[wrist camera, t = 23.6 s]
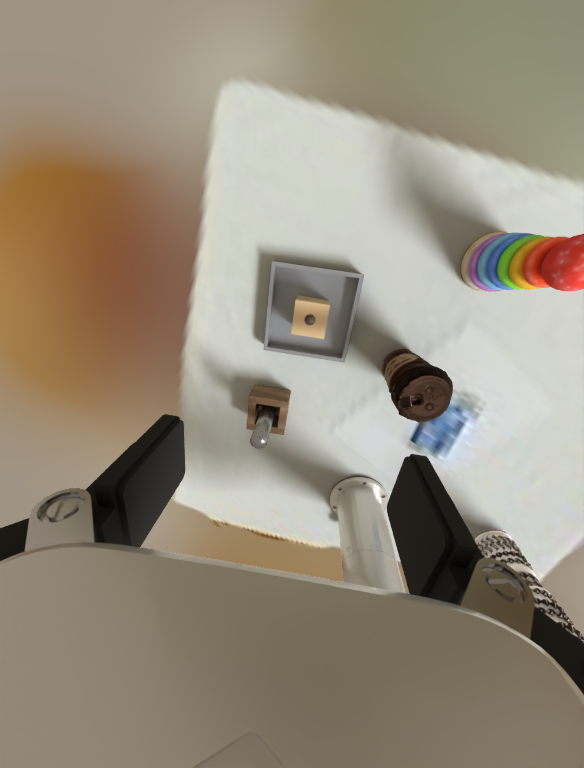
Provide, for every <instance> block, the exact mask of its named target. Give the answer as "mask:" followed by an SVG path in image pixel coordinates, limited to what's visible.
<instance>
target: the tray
mask: <svg viewBox="0 0 584 768" xmlns="http://www.w3.org/2000/svg"><path fill="white" fill-rule="evenodd" d="M363 278H364V274H359V273H352V272H345V271H339V270H332V269H325V268H318V267H311V266H304V265H297V264H290V263H283V262H277V261H272V264H271V275H270V285H269V296H268V307H267V318H266V329H265V340H264V350H268V351H274V352H281V353H287V354H294V355H300V356H307V357H313V358H320V359H326V360H333V361H339V362H345V359H346V354H347V350H348V345H349V341H350V336H351V332H352V327H353V323H354V318H355V314H356V310H357V305H358V301H359V296H360V292H361V287H362V283H363ZM298 295H299V296H306V297H312V298H319V299H326V300H329V303H330V309H329V314H328V319H327V325H326V330H325V335H324V339H320V338H314V337H307V336H301V335H294V334H291V330H292V323H293V316H294V308H295V301H296V298H297V297H298Z"/></svg>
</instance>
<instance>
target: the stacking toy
mask: <svg viewBox="0 0 584 768" xmlns="http://www.w3.org/2000/svg"><path fill="white" fill-rule="evenodd" d="M461 273H462V277H463V279H464V281H465V283H466V284H467V285H468V286H469V287H471V288H472V289H474V290H477V291H500V290H505V289H506V290H512V289H538V288H547V287H552V288H554V289H557V290H561V291H576V290H581V289H584V234H581V235H577V236H573V237H571V238H568V237H555V238H554V237H544V236H541V235H534V234H527V233H524V234H523V233H506V232H494V233H490V234H487V235H485V236H483V237H481V238H479V239H478V240H477V241H475V242H474V243H473V244H472V245H471V246H470V247H469V249H468V250H467V252H466V253H465V255H464V258H463V261H462V265H461Z"/></svg>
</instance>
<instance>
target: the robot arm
mask: <svg viewBox="0 0 584 768" xmlns="http://www.w3.org/2000/svg"><path fill="white" fill-rule="evenodd" d="M184 474H185V449H184V424H183V421H182V420H180V418H179V417H178V416H173V415H166V414H165V415H163V416H162V417H161V418H160V419H159V420H158V421H157V422H156V423H155V424H154V425H152V427H150V428H149V429H148V430H147V431H146V433H144V434H143V435H142V437H140V438H139V439H138V440H137V442H135V443H133V444H132V445H131V446H130V447H129V448H128V449H127V450H126V451H125V452H124V453H123V454H122V455H121V456H120V457H119V458H118V459H117V460H116V461H114V463H112V464H111V465H110V466H109V467H108V469H106V470H105V471H104V472H103V473H102V474H101V475H100V476H99V477H98V478H97V479H96V480H95V481H94V482H93V483H92V484H91V485H90V486H89V487H88V488H87V489H86V490H84V489H80V488H70V489H65V490H61V491H58V492H56V493H53V494H51V495H49V496H48V497H46V498H44V499H43V500H42V501H40V502H39V503H38V504H37V505H36V506H35V507H34V508H33V510H32V512H31V514H30V517H29V518H28V519H25V520H23V521H20V522H17V523H14V524H11V525H9V526H5V527H3V528H0V768H584V643H583V642H582V641H581V640H579V639H578V638H577V637H575V636H574V635H573V634H571V633H570V632H569V631H567V630H566V629H565V628H563V627H562V626H561V625H559V624H558V623H557V622H555V621H554V620H553V619H552V618H550V617H549V616H548V615H546V614H545V613H544V612H542V611H541V610H540V609H538V608H537V607H536V606H535V600H534V595H533V593H532V590H531V588H530V587H529V585H528V584H527V583H526V581H525V580H524V579H523V578H522V577H521V576H520V575H519V574H518V573H517V572H516V571H515V570H513V569H512V568H511V567H510V566H508V565H506V564H505V563H503V562H501V561H499V560H496V559H493V558H486V557H485V558H484V556H483V555H482V553H481V551H480V549H479V548H478V546H477V544H476V542H475V540H474V539H473V537H472V535H471V533H470V532H469V530H468V528H467V526H466V524H465V523H464V521H463V519H462V517H461V516H460V514H459V512H458V510H457V508H456V507H455V505H454V503H453V501H452V500H451V498H450V496H449V495H448V493H447V491H446V490H445V488H444V486H443V484H442V482H441V481H440V479H439V477H438V475H437V474H436V472H435V470H434V468H433V466H432V465H431V463H430V461H429V459H428V458H427V457H426V456H421V455H415V454H411V455H410V456H409V457H405V459H404V461H403V464H402V467H401V469H400V472H399V475H398V477H397V480H396V483H395V485H394V488H393V490H392V493H391V496H390V498H389V501H388V497H387V494H386V491H385V489H384V488H383V487H382V485H380V484H379V483H378V482H376V481H374V480H372V479H369V478H365V477H352V478H348V479H345V480H343V481H341V482H339V483H338V484H337V485H336V486H335V487H334V488H333V489H332V491H331V494H330V504H331V507H332V509H333V511H334V512H335V513H336V514H337V515H338V521H339V533H340V546H341V558H342V570H343V578H344V582H341V581H336V580H330V579H325V578H319V577H313V576H308V575H302V574H296V573H290V572H285V571H279V570H273V569H267V568H261V567H256V566H250V565H244V564H238V563H233V562H227V561H221V560H215V559H208V558H202V557H197V556H191V555H185V554H179V553H173V552H167V551H160V550H154V549H147V548H140V547H141V545H142V543H143V542H144V540H145V539H146V537H147V535H148V534H149V532H150V531H151V529H152V527H153V526H154V524H155V523H156V521H157V519H158V518H159V516H160V515H161V513H162V511H163V510H164V508H165V507H166V505H167V503H168V502H169V500H170V499H171V497H172V495H173V494H174V492H175V490H176V489H177V487H178V486H179V484H180V482H181V481H182V479H183V477H184ZM386 507H387V513H388V517H389V521H390V524H391V528H392V532H393V535H394V539H395V542H396V546H397V550H398V553H399V557H400V560H401V564H402V568H403V571H404V575H405V578H406V582H407V586H408V589H409V593H410V594H406V592H405V588H404V585H403V582H402V579H401V575H400V571H399V567H398V563H397V559H396V556H395V552H394V548H393V544H392V541H391V537H390V533H389V529H388V525H387V522H386V518H385V514H384V511H385V509H386Z"/></svg>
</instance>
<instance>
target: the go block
mask: <svg viewBox="0 0 584 768" xmlns="http://www.w3.org/2000/svg"><path fill="white" fill-rule="evenodd" d="M290 393H291V391H290V390H284V389H278V388H272V387H266V386H260V385H255V386H254V388H253V390H252V392H251V394H250V396H249V406H248V419H247V429H251V430H254V429H255V426H256V423H257V421H258V418H259V416H260V413H261V410H262V408H263V405H269V406H275V407H277V409H276V412H275V416H274V419H273V423H272V426H271V430H270V433H275V434H281V435H284V430H285V425H286V420H287V413H288V406H289V400H290Z"/></svg>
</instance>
